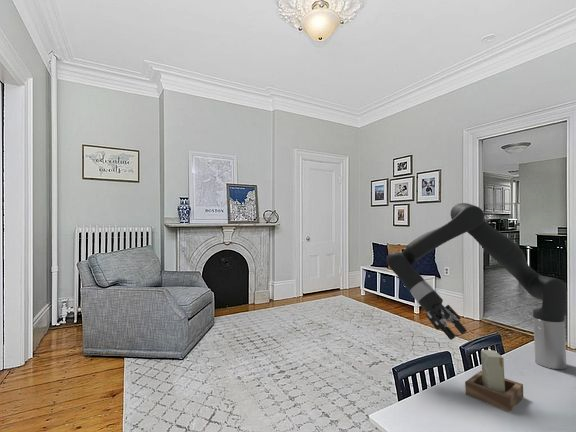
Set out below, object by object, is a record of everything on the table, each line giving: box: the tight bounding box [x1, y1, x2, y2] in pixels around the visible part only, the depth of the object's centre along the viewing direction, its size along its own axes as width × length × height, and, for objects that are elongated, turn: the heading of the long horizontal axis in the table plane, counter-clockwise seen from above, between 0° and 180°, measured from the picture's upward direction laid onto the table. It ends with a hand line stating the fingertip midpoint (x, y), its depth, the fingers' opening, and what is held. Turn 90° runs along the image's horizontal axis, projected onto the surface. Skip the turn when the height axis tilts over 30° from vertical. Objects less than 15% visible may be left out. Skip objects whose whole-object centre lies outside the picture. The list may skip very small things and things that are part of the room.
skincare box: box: [480, 349, 506, 393], centre depth 99 cm, size 6×4×12 cm
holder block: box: [464, 370, 525, 412], centre depth 98 cm, size 12×12×4 cm
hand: (459, 335), depth 107 cm, fingers open, 8 cm apart
